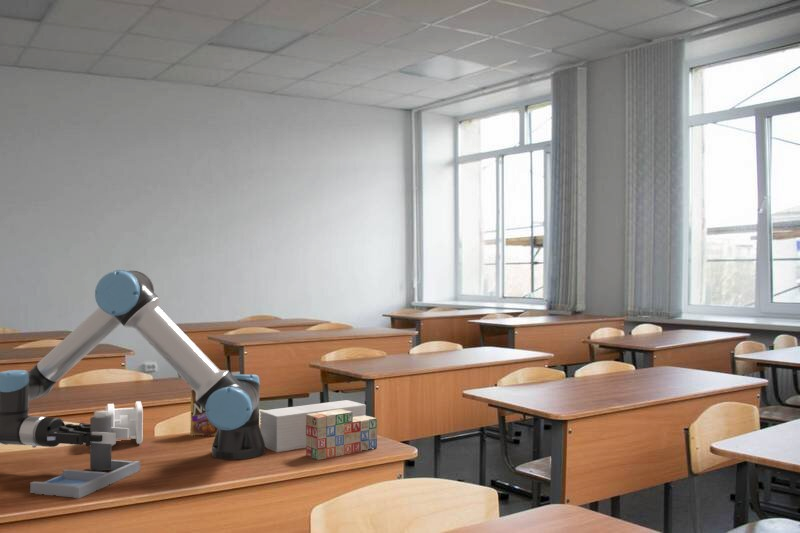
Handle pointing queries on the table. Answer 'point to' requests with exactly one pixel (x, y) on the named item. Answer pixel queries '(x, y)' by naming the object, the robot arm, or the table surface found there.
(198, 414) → the candy box
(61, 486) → the grey frame
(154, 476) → the table surface
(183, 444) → the table surface
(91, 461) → the grey bottle
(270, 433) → the long white block
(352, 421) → the stack of blocks
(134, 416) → the cable organizer
